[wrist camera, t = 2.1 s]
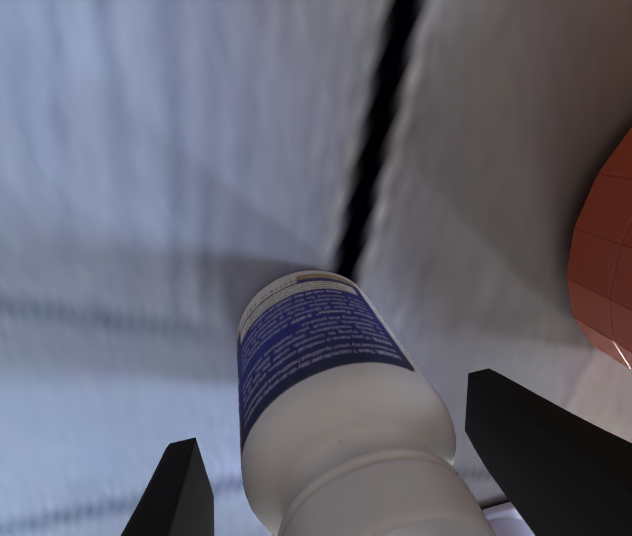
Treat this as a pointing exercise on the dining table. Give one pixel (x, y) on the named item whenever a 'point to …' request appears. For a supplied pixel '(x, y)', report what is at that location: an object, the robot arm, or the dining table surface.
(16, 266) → the dining table surface
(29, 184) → the dining table surface
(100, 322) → the dining table surface
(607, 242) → the bowl
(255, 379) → the pill bottle
